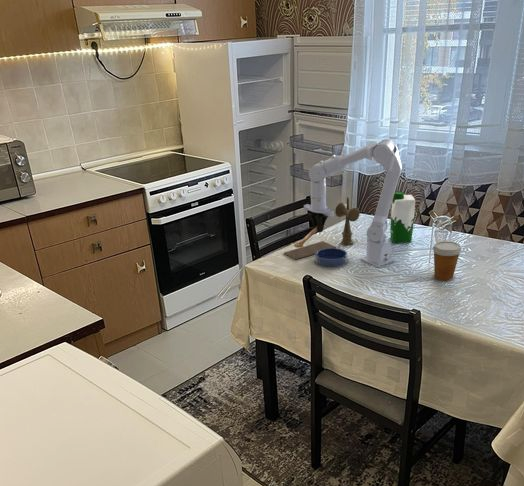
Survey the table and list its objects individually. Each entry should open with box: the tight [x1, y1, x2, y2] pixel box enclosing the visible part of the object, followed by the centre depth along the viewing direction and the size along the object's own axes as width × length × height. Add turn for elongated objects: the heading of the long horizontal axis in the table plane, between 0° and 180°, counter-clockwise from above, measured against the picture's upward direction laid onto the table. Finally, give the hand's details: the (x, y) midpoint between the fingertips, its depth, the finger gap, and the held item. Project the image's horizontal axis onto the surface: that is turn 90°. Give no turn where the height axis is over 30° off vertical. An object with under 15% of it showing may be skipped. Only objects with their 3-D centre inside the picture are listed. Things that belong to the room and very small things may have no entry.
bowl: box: [314, 247, 348, 268], centre depth 211 cm, size 12×12×4 cm
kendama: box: [334, 196, 361, 246], centre depth 222 cm, size 6×10×20 cm, turn 30°
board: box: [283, 240, 337, 261], centre depth 222 cm, size 20×9×1 cm, turn 122°
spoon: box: [293, 226, 318, 249], centre depth 210 cm, size 14×4×6 cm, turn 129°
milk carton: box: [389, 190, 416, 244], centre depth 222 cm, size 9×9×20 cm
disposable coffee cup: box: [432, 240, 462, 282], centre depth 191 cm, size 10×10×12 cm
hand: (318, 231), depth 212 cm, fingers closed on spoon
